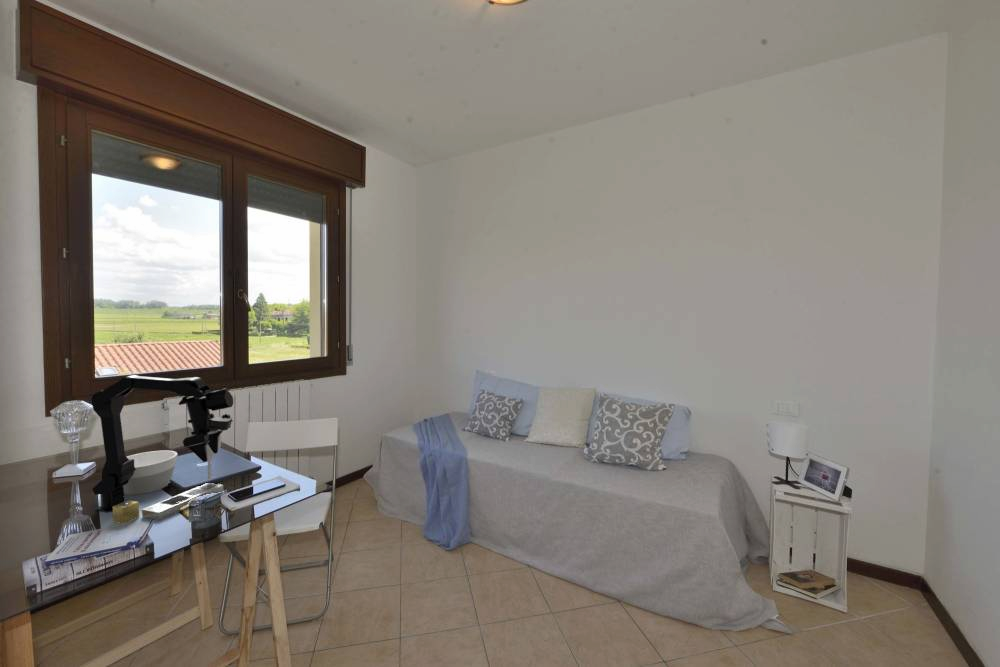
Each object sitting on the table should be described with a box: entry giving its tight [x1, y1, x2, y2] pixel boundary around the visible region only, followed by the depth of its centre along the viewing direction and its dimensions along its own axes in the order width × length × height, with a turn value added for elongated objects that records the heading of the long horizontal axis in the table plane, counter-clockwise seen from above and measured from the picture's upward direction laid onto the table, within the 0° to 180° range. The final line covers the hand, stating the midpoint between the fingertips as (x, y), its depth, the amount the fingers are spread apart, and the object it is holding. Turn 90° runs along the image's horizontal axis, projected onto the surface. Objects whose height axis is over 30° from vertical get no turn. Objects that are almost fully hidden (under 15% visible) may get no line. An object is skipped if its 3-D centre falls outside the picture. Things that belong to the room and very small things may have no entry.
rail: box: [141, 483, 224, 521], centre depth 146 cm, size 8×22×3 cm, turn 162°
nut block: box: [112, 499, 140, 524], centre depth 135 cm, size 4×4×5 cm
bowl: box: [123, 449, 178, 496], centre depth 160 cm, size 19×19×11 cm
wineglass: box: [206, 434, 222, 479], centre depth 163 cm, size 9×9×21 cm
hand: (210, 457), depth 149 cm, fingers open, 9 cm apart
